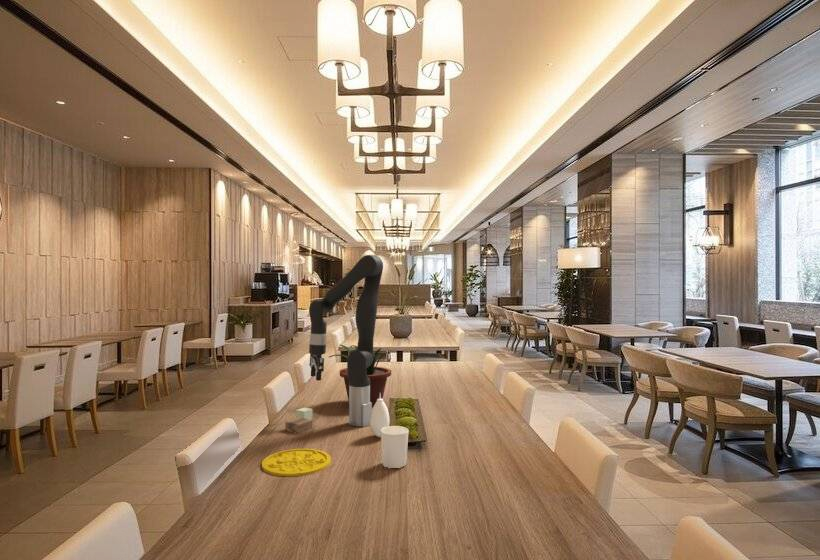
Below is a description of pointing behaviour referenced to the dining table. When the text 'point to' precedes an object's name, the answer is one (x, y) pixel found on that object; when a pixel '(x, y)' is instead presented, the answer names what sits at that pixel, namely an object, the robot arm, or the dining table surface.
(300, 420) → the tan square block
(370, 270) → the robot arm
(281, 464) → the decorative medallion
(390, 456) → the candle holder
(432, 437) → the dining table surface
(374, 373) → the potted plant
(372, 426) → the sauce bottle
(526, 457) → the dining table surface
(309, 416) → the sage wooden cube
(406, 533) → the dining table surface
